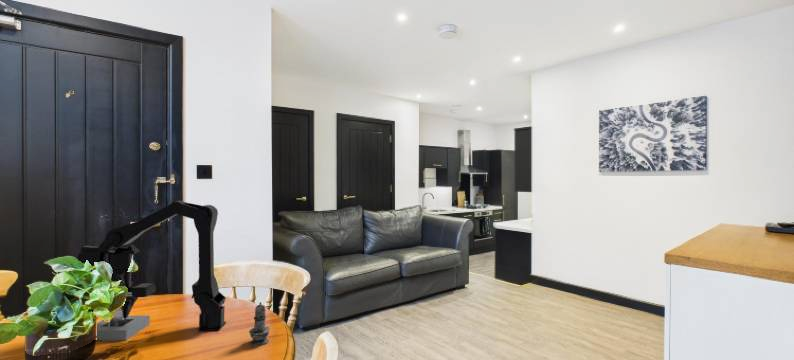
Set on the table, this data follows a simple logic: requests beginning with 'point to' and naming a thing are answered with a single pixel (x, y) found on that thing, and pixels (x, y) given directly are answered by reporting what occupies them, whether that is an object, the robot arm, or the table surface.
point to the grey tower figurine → (259, 327)
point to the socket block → (121, 328)
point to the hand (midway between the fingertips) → (118, 317)
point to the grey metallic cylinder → (118, 318)
